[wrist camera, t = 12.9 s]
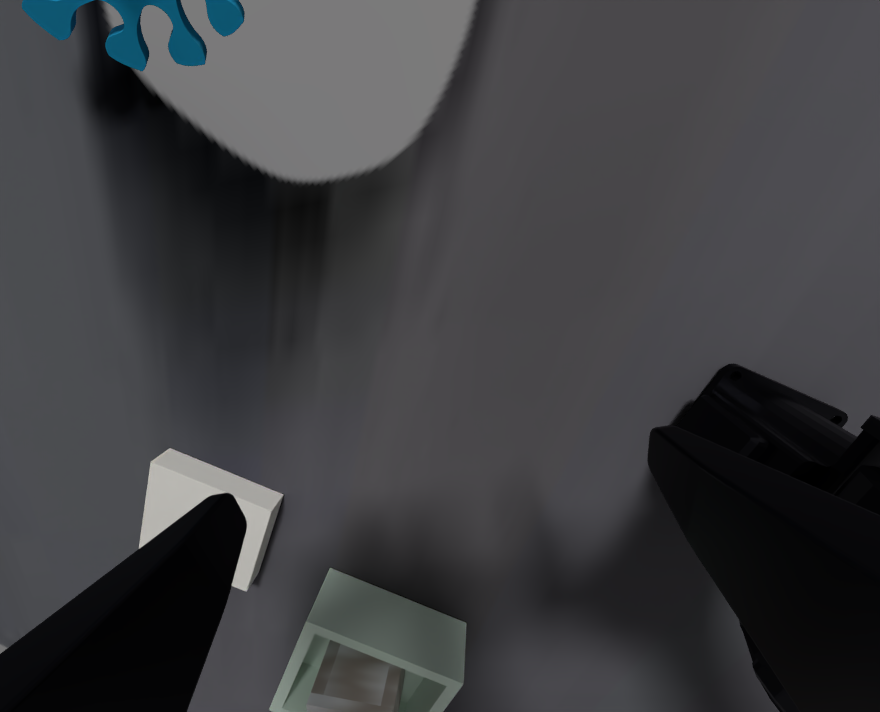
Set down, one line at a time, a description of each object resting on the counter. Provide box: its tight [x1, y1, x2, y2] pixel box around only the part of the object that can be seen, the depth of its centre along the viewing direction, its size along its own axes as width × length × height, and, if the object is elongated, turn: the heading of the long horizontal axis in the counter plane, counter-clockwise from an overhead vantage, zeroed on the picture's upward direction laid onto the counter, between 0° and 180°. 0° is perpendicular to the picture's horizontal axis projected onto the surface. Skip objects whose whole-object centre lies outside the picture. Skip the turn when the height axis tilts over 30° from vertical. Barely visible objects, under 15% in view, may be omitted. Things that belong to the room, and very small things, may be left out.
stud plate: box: [139, 448, 283, 592], centre depth 24 cm, size 8×8×5 cm
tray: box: [269, 568, 466, 712], centre depth 27 cm, size 11×11×4 cm
